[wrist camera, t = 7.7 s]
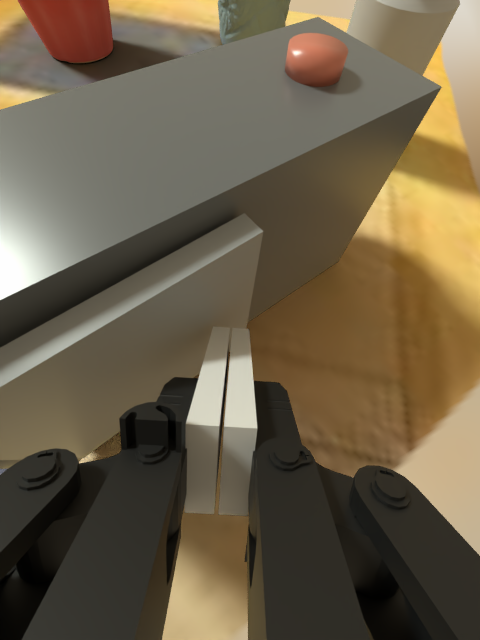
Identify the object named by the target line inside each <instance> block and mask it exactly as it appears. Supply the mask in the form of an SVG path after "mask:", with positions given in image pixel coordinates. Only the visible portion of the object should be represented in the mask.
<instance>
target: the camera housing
mask: <svg viewBox="0 0 480 640" xmlns="http://www.w3.org/2000/svg"><path fill="white" fill-rule="evenodd" d="M440 89H441V86H439V85H438V84H436V83H434V82H432V81H430V80H429V79H427V78H425V77H423V76H422V75H420V74H418V73H416V72H415V71H413V70H411V69H409V68H407V67H406V66H404V65H402V64H400V63H399V62H397V61H395V60H393V59H392V58H390V57H388V56H386V55H384V54H383V53H381V52H379V51H377V50H376V49H374V48H372V47H370V46H368V45H367V44H365V43H363V42H361V41H360V40H358V39H356V38H354V37H353V36H351V35H349V34H347V33H345V32H344V31H342V30H340V29H338V28H337V27H335V26H333V25H331V24H330V23H328V22H326V21H324V20H322V19H321V18H319V17H317V18H313V19H310V20H306V21H303V22H300V23H296V24H293V25H289V26H286V27H282V28H279V29H276V30H272V31H269V32H265V33H262V34H258V35H255V36H252V37H248V38H245V39H241V40H238V41H234V42H231V43H228V44H224V45H221V46H217V47H214V48H210V49H207V50H204V51H200V52H197V53H193V54H190V55H186V56H183V57H180V58H176V59H173V60H169V61H166V62H162V63H159V64H156V65H152V66H149V67H145V68H142V69H138V70H135V71H132V72H128V73H125V74H121V75H118V76H114V77H111V78H108V79H104V80H101V81H97V82H94V83H90V84H87V85H84V86H80V87H77V88H73V89H70V90H66V91H63V92H60V93H56V94H53V95H49V96H46V97H42V98H39V99H36V100H32V101H29V102H25V103H22V104H18V105H15V106H12V107H8V108H5V109H1V110H0V348H1V347H2V346H4V345H6V344H8V343H10V342H11V341H13V340H15V339H17V338H19V337H21V336H22V335H24V334H26V333H28V332H30V331H31V330H33V329H35V328H37V327H39V326H41V325H42V324H44V323H46V322H48V321H50V320H51V319H53V318H55V317H57V316H59V315H60V314H62V313H64V312H66V311H68V310H70V309H71V308H73V307H75V306H77V305H79V304H80V303H82V302H84V301H86V300H88V299H90V298H91V297H93V296H95V295H97V294H99V293H100V292H102V291H104V290H106V289H108V288H110V287H111V286H113V285H115V284H117V283H119V282H120V281H122V280H124V279H126V278H128V277H129V276H131V275H133V274H135V273H137V272H139V271H140V270H142V269H144V268H146V267H148V266H149V265H151V264H153V263H155V262H157V261H159V260H160V259H162V258H164V257H166V256H168V255H169V254H171V253H173V252H175V251H177V250H178V249H180V248H182V247H184V246H186V245H188V244H189V243H191V242H193V241H195V240H197V239H198V238H200V237H202V236H204V235H206V234H208V233H209V232H211V231H213V230H215V229H217V228H218V227H220V226H222V225H224V224H226V223H227V222H229V221H231V220H233V219H235V218H237V217H238V216H240V215H242V214H244V213H245V214H246V215H247V216H248V217H249V218H250V219H251V220H252V221H253V222H254V223H255V224H256V225H257V226H258V227H259V228H260V229H261V230H262V231H263V236H262V242H261V248H260V253H259V259H258V265H257V271H256V276H255V282H254V288H253V294H252V299H251V305H250V311H249V317H248V322H249V321H251V320H252V319H254V318H255V317H256V316H258V315H259V314H261V313H262V312H264V311H265V310H267V309H268V308H270V307H271V306H273V305H274V304H276V303H277V302H279V301H280V300H282V299H283V298H285V297H286V296H288V295H289V294H291V293H292V292H294V291H295V290H297V289H298V288H300V287H301V286H303V285H304V284H306V283H307V282H309V281H310V280H311V279H313V278H314V277H316V276H317V275H319V274H320V273H322V272H323V271H325V270H326V269H328V268H329V267H331V266H332V265H334V264H335V263H337V262H338V261H339V259H340V258H341V256H342V254H343V253H344V251H345V249H346V248H347V246H348V244H349V243H350V241H351V239H352V237H353V236H354V234H355V232H356V231H357V229H358V227H359V226H360V224H361V222H362V221H363V219H364V217H365V216H366V214H367V212H368V210H369V209H370V207H371V205H372V204H373V202H374V200H375V199H376V197H377V195H378V194H379V192H380V190H381V189H382V187H383V185H384V183H385V182H386V180H387V178H388V177H389V175H390V173H391V172H392V170H393V168H394V167H395V165H396V163H397V162H398V160H399V158H400V156H401V155H402V153H403V151H404V150H405V148H406V146H407V145H408V143H409V141H410V140H411V138H412V136H413V134H414V133H415V131H416V129H417V128H418V126H419V124H420V123H421V121H422V119H423V118H424V116H425V114H426V113H427V111H428V109H429V107H430V106H431V104H432V102H433V101H434V99H435V97H436V96H437V94H438V92H439V91H440ZM248 322H247V323H248Z"/></svg>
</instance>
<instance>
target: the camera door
mask: <svg viewBox="0 0 480 640" xmlns="http://www.w3.org/2000/svg"><path fill="white" fill-rule="evenodd" d="M262 236H263V231H262V230H261V229H260V228H259V227H258V226H257V225H256V224H255V223H254V222H253V221H252V220H251V219H250V218H249V217H248V216H247V215H246V214H245V213H244V214H242V215H240V216H238V217H237V218H235V219H233V220H231V221H229V222H227V223H226V224H224V225H222V226H220V227H218V228H217V229H215V230H213V231H211V232H209V233H208V234H206V235H204V236H202V237H200V238H198V239H197V240H195V241H193V242H191V243H189V244H188V245H186V246H184V247H182V248H180V249H178V250H177V251H175V252H173V253H171V254H169V255H168V256H166V257H164V258H162V259H160V260H159V261H157V262H155V263H153V264H151V265H149V266H148V267H146V268H144V269H142V270H140V271H139V272H137V273H135V274H133V275H131V276H129V277H128V278H126V279H124V280H122V281H120V282H119V283H117V284H115V285H113V286H111V287H110V288H108V289H106V290H104V291H102V292H100V293H99V294H97V295H95V296H93V297H91V298H90V299H88V300H86V301H84V302H82V303H80V304H79V305H77V306H75V307H73V308H71V309H70V310H68V311H66V312H64V313H62V314H60V315H59V316H57V317H55V318H53V319H51V320H50V321H48V322H46V323H44V324H42V325H41V326H39V327H37V328H35V329H33V330H31V331H30V332H28V333H26V334H24V335H22V336H21V337H19V338H17V339H15V340H13V341H11V342H10V343H8V344H6V345H4V346H2V347H1V348H0V469H6V468H10V467H11V466H13V465H14V464H16V463H17V462H19V461H20V460H22V459H24V458H25V457H27V456H29V455H32V454H35V453H37V452H40V451H43V450H49V449H54V448H57V449H67V450H69V451H71V452H73V453H75V455H76V457H77V459H78V461H80V460H81V459H82V458H84V457H86V456H87V455H88V454H90V453H91V452H92V451H94V450H95V449H97V448H98V447H99V446H101V445H102V444H103V443H105V442H106V441H108V440H109V439H110V438H112V437H113V436H114V435H116V434H117V433H119V432H120V423H119V418H120V417H121V416H122V415H123V414H124V413H125V412H126V411H127V410H129V409H131V408H132V407H134V406H136V405H140V404H143V403H147V402H156V401H157V399H158V397H159V396H160V393H161V391H162V389H163V387H164V385H165V384H166V383H167V382H168V381H170V380H171V379H172V378H174V377H183V378H194V377H195V376H197V375H198V374H200V371H201V368H202V364H203V361H204V357H205V354H206V350H207V347H208V343H209V340H210V336H211V332H212V329H213V326H214V327H228V328H230V336H229V352H230V350H231V338H232V328H243V329H246V328H247V322H248V317H249V311H250V305H251V299H252V294H253V288H254V282H255V276H256V271H257V265H258V259H259V253H260V248H261V242H262Z"/></svg>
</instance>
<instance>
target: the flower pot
mask: <svg viewBox="0 0 480 640" xmlns="http://www.w3.org/2000/svg"><path fill="white" fill-rule="evenodd" d="M18 2H19V4H20V5H21V7H22V9H23V10H24V12H25V14H26V15H27V17H28V19H29V20H30V22H31V24H32V25H33V27H34V29H35V30H36V32H37V33H38V35H39V37H40V38H41V40H42V42H43V43H44V45H45V46H46V48H47V50H48V51H49V53H50V54H51V55H52V56H53V57H54V58H56V59H58V60H60V61H67V62H69V63H88V62H93V61H97V60H100V59H102V58H104V57H106V56H108V55H109V54H110V53H111V52H112V50H113V38H112V29H111V20H110V11H109V3H108V0H18Z"/></svg>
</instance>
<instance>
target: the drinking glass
mask: <svg viewBox="0 0 480 640" xmlns="http://www.w3.org/2000/svg"><path fill="white" fill-rule="evenodd" d="M289 4H290V0H219V1H218V8H219V20H220V38H221V42H222V44H223V45H224V44H228V43H231V42H234V41H238V40H241V39H245V38H248V37H252V36H255V35H258V34H262V33H265V32H269V31H272V30H276V29H279V28H282V27H285V21H286V18H287V14H288V10H289Z"/></svg>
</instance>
